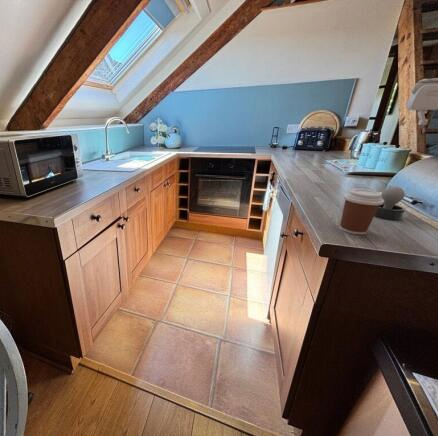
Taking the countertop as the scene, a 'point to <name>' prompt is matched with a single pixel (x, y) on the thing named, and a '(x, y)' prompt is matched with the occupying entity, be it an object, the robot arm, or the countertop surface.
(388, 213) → the dark round bowl
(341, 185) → the countertop surface
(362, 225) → the coffee cup
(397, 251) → the countertop surface
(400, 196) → the light bulb
